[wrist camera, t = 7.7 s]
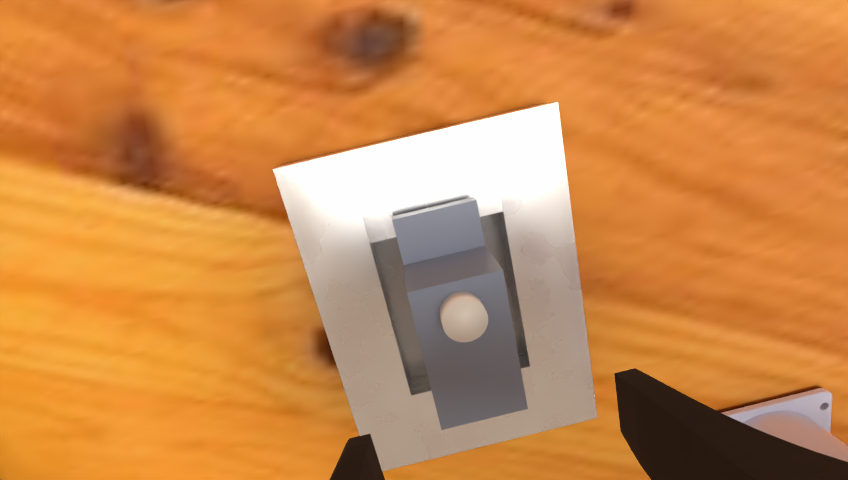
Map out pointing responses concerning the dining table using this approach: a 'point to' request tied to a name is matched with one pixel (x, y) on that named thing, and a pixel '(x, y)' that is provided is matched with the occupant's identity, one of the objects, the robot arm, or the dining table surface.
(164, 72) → the dining table surface
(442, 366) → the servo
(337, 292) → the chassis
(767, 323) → the dining table surface
